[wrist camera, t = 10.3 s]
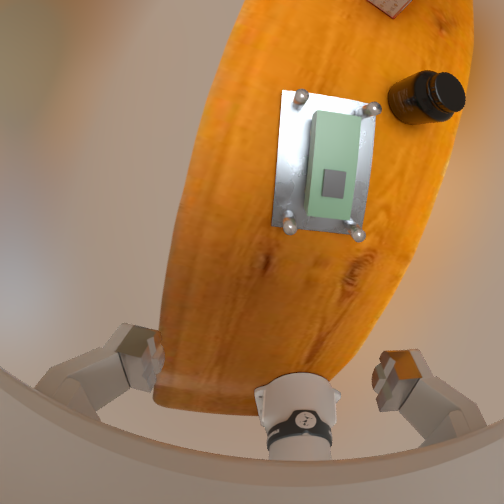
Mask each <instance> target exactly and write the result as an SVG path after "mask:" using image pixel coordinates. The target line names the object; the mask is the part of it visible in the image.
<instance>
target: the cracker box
mask: <svg viewBox="0 0 504 504" xmlns="http://www.w3.org/2000/svg"><path fill="white" fill-rule="evenodd" d="M367 1H369V2H370V3H372V4H373V5H375V6H376V7H378V8H379V9H381V10H382V11H383V12H385V13H386V14H387V15H389V16H390V17H391V18H393V19H395V18H396V16H397V15H398V14H399V13H400V12H401V11H402V10H403V9H404V8H405V7H406V6H407V5H408V4H409V3H410V2H411V1H412V0H367Z"/></svg>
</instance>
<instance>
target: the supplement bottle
mask: <svg viewBox="0 0 504 504" xmlns="http://www.w3.org/2000/svg"><path fill="white" fill-rule="evenodd" d="M465 98H466V97H465V92H464V89H463V87H462V85H461V83H460V82H459V81H458V79H456V77H454V76H453V75H452V74H450V73H446V72H445V73H444V72H442V73H436V72H434V71H430V70H424V71H421V72H418V73H416V74H414V75H412V76H410V77H407V78H405V79H403V80H401V81H399V82H397V83H396V84H394V85H393V86H392V87H391V89H390V91H389V96H388V99H389V105H390V108H391V110H392V112H393V113H394V115H395V116H396V117H397V118H398V119H399V120H401V121H402V122H404V123H407V124H411V125H415V124H425V123H436V122H444V121H447V120H448V119H450V118H451V117H452V115H453V114H454V112H458V111H460V110H461V109H463V107H464V105H465V101H466V100H465Z"/></svg>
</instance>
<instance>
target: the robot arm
mask: <svg viewBox="0 0 504 504" xmlns="http://www.w3.org/2000/svg"><path fill="white" fill-rule="evenodd" d="M161 341H162V335H161V332H160V331H158V330H153V329H149V328H145V327H141V326H136V325H131V324H127V323H122V324H121V325H120V326H119V327H118V329H117V330H116V331H115V333H114V334H113V335H112V336H111V338H110V339H109V340H108V341H107V343H106V344H105V345H104V347H103V348H100V347H99V348H96V349H94V350H91V351H89V352H87V353H84V354H82V355H80V356H77V357H75V358H72V359H70V360H68V361H65V362H63V363H61V364H58V365H56V366H53V367H51V368H50V369H49V370H48V371H47V372H46V374H45V375H44V376H43V377H42V379H41V380H40V381H39V382H38V384H37V385H36V386H35V388H32V387H31V386H29V385H27V384H26V383H24V382H23V381H21V380H19V379H18V378H16V377H15V376H13V375H12V374H10V373H9V372H7V371H6V370H5V369H3V368H2V367H0V504H504V419H502V420H500V421H498V422H495V423H493V424H491V425H488V426H487V425H486V422H485V420H484V418H483V416H482V414H481V412H480V410H479V408H478V406H477V404H476V403H474V402H473V401H471V400H470V399H469V398H467V397H466V396H464V395H463V394H461V393H460V392H458V391H457V390H456V389H454V388H453V387H451V386H450V385H448V384H447V383H446V382H444V381H443V380H441V379H440V378H438V377H437V376H436V377H434V376H433V374H432V372H431V370H430V368H429V366H428V365H427V363H426V361H425V359H424V357H423V355H422V354H421V352H420V350H418V349H410V350H393V351H384V352H383V353H382V354H381V356H380V358H379V359H380V362H381V363H380V364H379V365H377V366H376V367H375V369H374V371H373V374H372V387H373V390H374V391H375V392H376V393H378V396H377V398H376V401H377V404H378V408H379V411H380V412H386V411H398V410H399V412H400V413H401V414H402V415H403V417H404V418H405V419H406V420H407V421H408V422H409V423H410V424H411V425H412V426H413V427H414V428H415V429H416V430H417V431H418V432H419V434H420V435H421V436H422V437H423V438H424V439H425V441H424V442H423V443H422V444H421V445H420V446H419V447H418V448H416V449H411V450H407V451H402V452H397V453H391V454H385V455H379V456H372V457H364V458H354V459H342V460H331V451H330V447H331V446H332V433H331V428H332V427H333V426H334V424H336V421H337V418H336V403H337V402H338V401H339V399H340V398H341V393H340V392H339V391H337V390H335V389H333V388H332V386H331V384H330V383H329V382H328V381H327V380H326V379H325V378H323V377H321V376H319V375H315V374H311V373H293V374H288V375H284V376H281V377H279V378H277V379H275V380H274V381H272V382H271V383H269V384H268V385H266V386H262V387H259V388H256V389H255V390H254V395H255V400H256V404H257V409H258V414H259V418H260V422H261V425H262V426H263V427H265V430H266V433H267V436H268V438H267V449H268V451H269V460H264V459H252V458H242V457H234V456H226V455H220V454H213V453H208V452H202V451H197V450H192V449H188V448H183V447H179V446H175V445H171V444H167V443H163V442H159V441H156V440H152V439H149V438H145V437H142V436H139V435H136V434H133V433H130V432H127V431H124V430H121V429H118V428H116V427H113V426H110V425H108V424H105V423H103V422H101V420H100V418H99V416H98V415H97V413H96V411H97V410H99V409H100V408H102V407H103V406H105V405H106V404H108V403H109V402H111V401H112V400H114V399H115V398H117V397H118V396H120V395H121V394H123V393H124V392H126V391H127V390H128V389H130V387H131V388H134V389H138V390H142V391H146V392H151V390H152V388H153V386H154V384H155V382H156V376H155V374H157V373H159V372H161V370H162V367H163V364H164V359H165V352H164V348H163V347H162V346H161V345H160V343H161Z"/></svg>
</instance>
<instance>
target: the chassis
mask: <svg viewBox="0 0 504 504" xmlns="http://www.w3.org/2000/svg"><path fill="white" fill-rule="evenodd" d="M316 110H324V111H330V112H337V113H342V114H348V115H353V116H359V117H361V131H360V143H359V153H358V163H357V172H356V180H355V187H354V195H353V202H352V208H351V215H350V221H348V220H340V219H331V218H322V217H313V216H307V214H306V212H305V209H304V200H305V191H306V182H307V172H308V161H309V150H310V138H311V125H312V114H313V113H314V112H315V111H316ZM381 111H382V108H381V106H380V104H379V103H377V102H371V103H369V104H368V103H363V102H359V101H354V100H349V99H343V98H338V97H332V96H326V95H319V94H312V93H308V92H307V91H306V90H305V89H299V90H297V91H296V92H295V91H284V90H282V103H281V117H280V131H279V144H278V157H277V169H276V181H275V193H274V205H273V216H272V226H275V227H283V230H284V232H285V233H286V234H288V235H293V234H295V233H296V231H297V229H305V230H314V231H324V232H333V233H342V234H350V235H351V236H352V237H353V239H354V240H355V241H356V242H362V241H363V240H364V239H365V237H366V234H365V232H364V231H363V230H362V224H363V219H364V213H365V207H366V200H367V194H368V187H369V179H370V172H371V163H372V154H373V144H374V133H375V119H376V115H378V114H380V113H381Z"/></svg>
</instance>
